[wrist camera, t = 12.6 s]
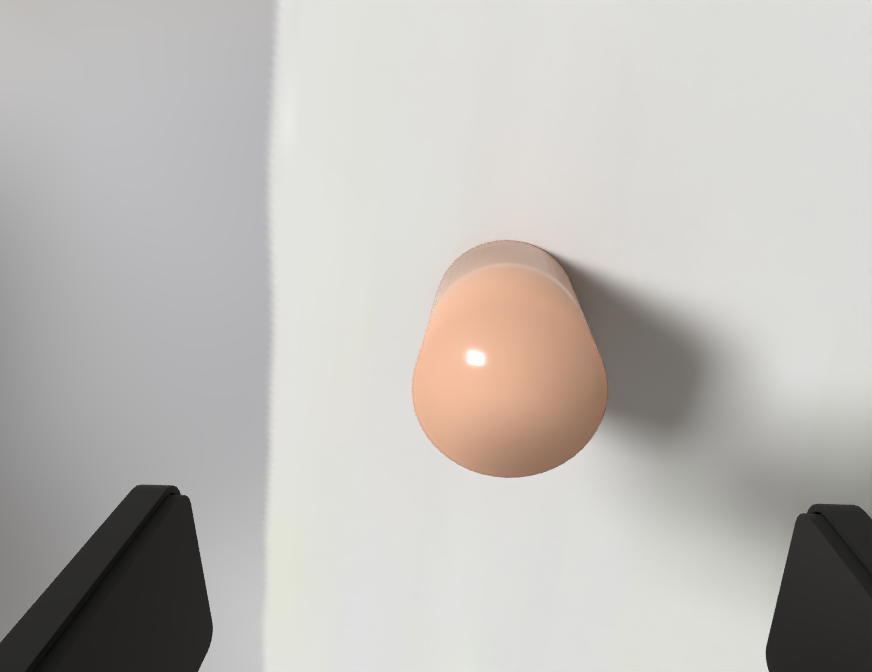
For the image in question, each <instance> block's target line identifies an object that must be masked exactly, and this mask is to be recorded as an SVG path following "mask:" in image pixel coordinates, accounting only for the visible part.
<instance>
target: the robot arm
mask: <svg viewBox="0 0 872 672" xmlns="http://www.w3.org/2000/svg"><path fill="white" fill-rule="evenodd" d="M212 632H213V625H212V618H211V613H210V607H209V602H208V596H207V590H206V585H205V580H204V574H203V568H202V563H201V557H200V552H199V546H198V540H197V535H196V530H195V524H194V518H193V513H192V508H191V502H190V499H189V498H188V497H187V496H186V495H181V494H180V491H179V490H178V488H177V487H175V486H170V485H168V486H167V485H138V486H136V487H135V488H133V489H132V490H131V491H130V493H129V494H128V495H127V496H126V497H125V498H124V500H123V501H122V502H121V503H120V504H119V505H118V507H117V508H116V509H115V510H114V511H113V512H112V513H111V515H110V516H109V517H108V518H107V519H106V520H105V522H104V523H103V524H102V525H101V526H100V527H99V529H98V530H97V531H96V532H95V533H94V534H93V536H92V537H91V538H90V539H89V540H88V541H87V543H86V544H85V545H84V546H83V547H82V548H81V550H80V551H79V552H78V553H77V554H76V555H75V557H74V558H73V559H72V560H71V561H70V562H69V564H68V565H67V566H66V567H65V568H64V569H63V570H62V572H61V573H60V574H59V575H58V577H56V579H55V580H54V581H53V582H52V583H51V584H50V586H49V587H48V588H47V589H46V590H45V591H44V593H43V594H42V595H41V596H40V597H39V598H38V600H37V601H36V602H35V603H34V604H33V605H32V607H31V608H30V609H29V610H28V611H27V613H26V614H25V615H24V616H23V617H22V618H21V619H20V620H19V622H18V623H17V624H16V625H15V626H14V627H13V629H12V630H11V631H10V632H9V633H8V634H7V636H6V637H5V638H4V639H3V640H2V642H1V643H0V672H198V670H199V668H200V666H201V664H202V662H203V660H204V658H205V656H206V654H207V652H208V649H209V647H210V643H211V639H212ZM766 661H767V666H768V670H769V672H872V519H871V518H870V517H869V516H868V515H867V514H866V512H865V511H864V510H862V509H861V508H860V507H859V506H855V505H837V504H815V505H812V506H811V507H810V508H809V510H808V512H807V514H804V513H803V514H800V515H799V516H798V517H797V520H796V523H795V527H794V531H793V535H792V540H791V544H790V548H789V552H788V557H787V561H786V565H785V569H784V574H783V578H782V582H781V586H780V591H779V595H778V599H777V603H776V608H775V612H774V616H773V620H772V625H771V629H770V633H769V638H768V642H767V646H766Z"/></svg>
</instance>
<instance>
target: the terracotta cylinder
mask: <svg viewBox="0 0 872 672" xmlns="http://www.w3.org/2000/svg"><path fill="white" fill-rule="evenodd" d="M607 397H608V384H607V376H606V371H605V368H604V364H603V361H602V358H601V356H600V354H599V351H598V349H597V346H596V344H595V341H594V339H593V336H592V334H591V331H590V329H589V326H588V324H587V321H586V319H585V316H584V314H583V311H582V309H581V307H580V304H579V302H578V299H577V297H576V294H575V292H574V289H573V287H572V284H571V282H570V280H569V278H568V276H567V274H566V272H565V271H564V269H563V268H562V267H561V265H560V264H559V263H558V262H557V261H556V260H555V259H554V258H553V257H552V256H550V255H549V254H548V253H546V252H545V251H543V250H541V249H539V248H537V247H535V246H533V245H530V244H527V243H524V242H519V241H510V240H502V241H493V242H488V243H485V244H482V245H479V246H476V247H474V248H472V249H470V250H469V251H467V252H466V253H464V254H462V255H461V256H460V257H459V258H458V259H457V260H455V261H454V263H453V264H452V265H451V266H450V267H449V268H448V270H447V271H446V273H445V274H444V276H443V278H442V280H441V282H440V285H439V287H438V290H437V294H436V297H435V301H434V304H433V307H432V311H431V314H430V318H429V321H428V324H427V328H426V331H425V335H424V338H423V341H422V345H421V348H420V352H419V355H418V358H417V362H416V365H415V369H414V374H413V379H412V399H413V405H414V409H415V413H416V416H417V419H418V421H419V424H420V426H421V427H422V429H423V431H424V433H425V434H426V436H427V437H428V438H429V440H430V441H431V442H432V444H433V445H434V446H435V447H436V448H437V449H438V450H439V451H440V452H441V453H443V454H444V455H445V456H446V457H448V458H449V459H450V460H452V461H454V462H455V463H457V464H458V465H460V466H462V467H465V468H467V469H469V470H471V471H474V472H477V473H480V474H484V475H489V476H494V477H505V478H513V477H525V476H531V475H535V474H539V473H543V472H546V471H548V470H551V469H553V468H555V467H557V466H559V465H561V464H563V463H565V462H566V461H568V460H569V459H571V458H572V457H574V456H575V455H576V454H577V453H578V452H579V451H580V450H582V449H583V448H584V446H585V445H586V444H587V443H588V442H589V441H590V440H591V438H592V437H593V435H594V434H595V432H596V431H597V429H598V427H599V425H600V423H601V420H602V418H603V415H604V412H605V409H606V403H607Z"/></svg>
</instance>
